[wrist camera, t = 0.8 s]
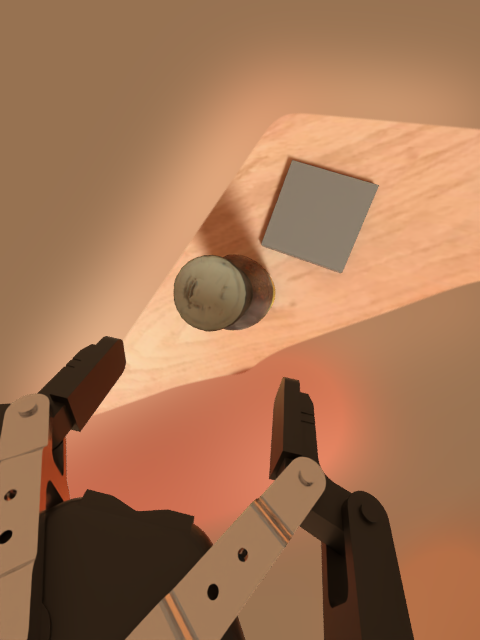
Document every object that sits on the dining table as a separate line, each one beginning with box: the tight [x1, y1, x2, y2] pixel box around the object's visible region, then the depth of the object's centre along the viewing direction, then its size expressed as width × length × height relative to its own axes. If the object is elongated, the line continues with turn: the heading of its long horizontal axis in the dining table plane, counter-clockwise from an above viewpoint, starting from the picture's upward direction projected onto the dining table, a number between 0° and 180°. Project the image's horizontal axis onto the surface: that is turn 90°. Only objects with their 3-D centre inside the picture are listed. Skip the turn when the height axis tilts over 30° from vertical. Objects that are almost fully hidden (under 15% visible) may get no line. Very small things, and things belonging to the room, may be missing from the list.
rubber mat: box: [261, 160, 379, 273], centre depth 30 cm, size 10×10×1 cm
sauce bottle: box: [174, 255, 275, 331], centre depth 23 cm, size 7×6×20 cm
